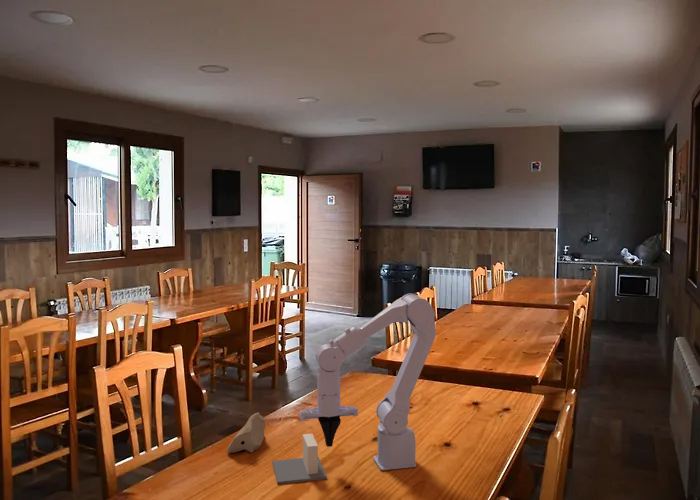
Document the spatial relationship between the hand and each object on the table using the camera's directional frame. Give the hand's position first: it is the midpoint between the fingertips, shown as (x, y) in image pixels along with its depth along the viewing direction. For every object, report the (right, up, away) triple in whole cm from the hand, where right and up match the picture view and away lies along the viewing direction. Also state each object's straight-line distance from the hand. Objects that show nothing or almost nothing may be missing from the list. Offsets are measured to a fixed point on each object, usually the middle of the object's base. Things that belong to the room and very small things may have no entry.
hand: (328, 445), depth 151 cm
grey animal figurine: (-23, -5, +14) cm, 28 cm away
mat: (-7, -6, -1) cm, 10 cm away
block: (-5, -5, 0) cm, 7 cm away
